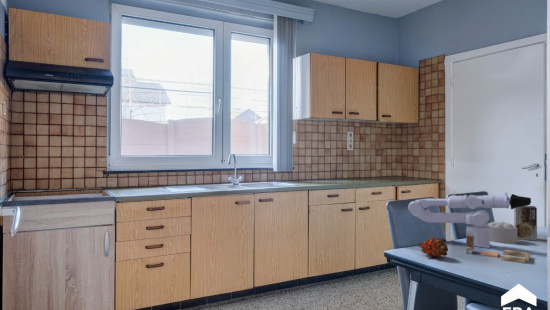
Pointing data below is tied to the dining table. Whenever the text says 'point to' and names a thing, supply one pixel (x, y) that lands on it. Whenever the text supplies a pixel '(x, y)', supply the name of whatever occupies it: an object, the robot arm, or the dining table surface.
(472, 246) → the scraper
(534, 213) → the coffee box
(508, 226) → the lumpy-topped squat cylinder
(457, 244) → the dining table surface
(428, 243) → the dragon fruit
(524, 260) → the tile holder
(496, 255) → the tile
